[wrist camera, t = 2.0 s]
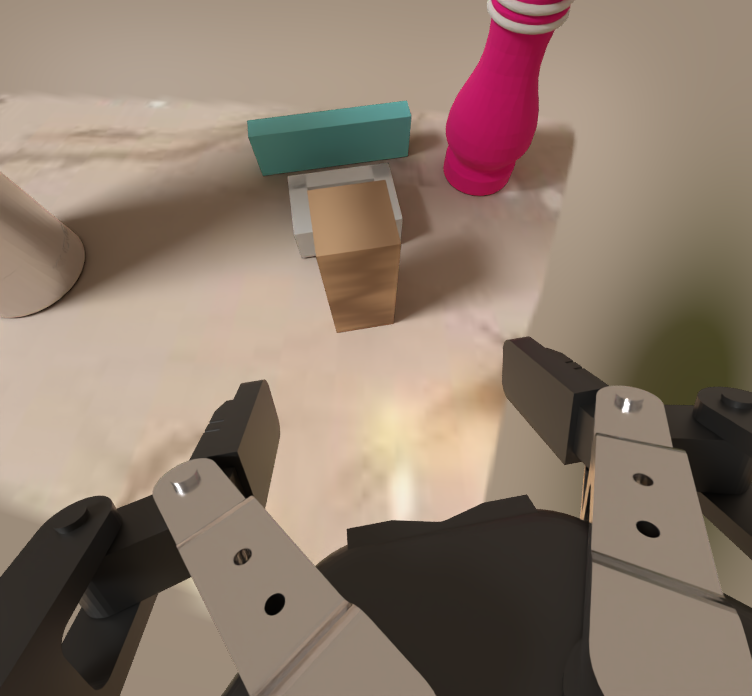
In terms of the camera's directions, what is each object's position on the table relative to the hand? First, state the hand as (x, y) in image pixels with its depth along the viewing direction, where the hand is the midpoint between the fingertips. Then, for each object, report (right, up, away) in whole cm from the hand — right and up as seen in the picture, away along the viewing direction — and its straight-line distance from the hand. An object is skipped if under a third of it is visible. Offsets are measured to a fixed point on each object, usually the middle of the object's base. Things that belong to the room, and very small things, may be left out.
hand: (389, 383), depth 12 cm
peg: (-2, +5, +17) cm, 17 cm away
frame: (-3, +12, +19) cm, 23 cm away
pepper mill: (+9, +18, +22) cm, 30 cm away
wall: (-4, +20, +22) cm, 30 cm away
